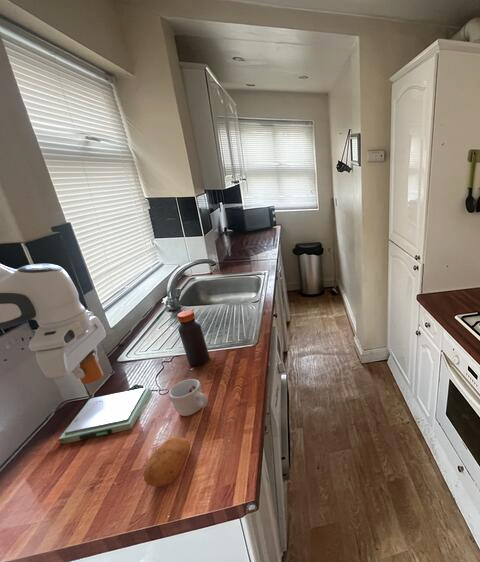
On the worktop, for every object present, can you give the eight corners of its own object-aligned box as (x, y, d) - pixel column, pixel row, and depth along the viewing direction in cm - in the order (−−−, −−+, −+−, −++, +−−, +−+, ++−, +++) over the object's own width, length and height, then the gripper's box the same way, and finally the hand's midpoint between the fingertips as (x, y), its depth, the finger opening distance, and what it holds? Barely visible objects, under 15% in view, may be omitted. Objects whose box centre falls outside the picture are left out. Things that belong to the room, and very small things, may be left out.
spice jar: (77, 385, 81) (65, 363, 79) (87, 374, 86) (76, 353, 83) (98, 381, 83) (88, 359, 80) (107, 370, 87) (97, 349, 84)
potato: (142, 499, 67) (128, 475, 65) (171, 452, 79) (161, 430, 77) (175, 491, 68) (163, 467, 65) (199, 445, 80) (190, 423, 78)
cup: (219, 403, 93) (213, 382, 90) (199, 424, 86) (192, 402, 83) (191, 397, 96) (184, 376, 93) (169, 416, 89) (161, 395, 86)
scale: (60, 446, 80) (56, 439, 79) (92, 404, 94) (88, 397, 93) (130, 430, 84) (127, 423, 83) (151, 392, 98) (148, 385, 97)
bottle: (200, 368, 109) (185, 319, 101) (184, 365, 111) (169, 317, 103) (214, 357, 115) (201, 309, 107) (199, 354, 117) (185, 307, 109)
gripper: (76, 309, 86) (94, 350, 91) (22, 349, 68) (49, 398, 73) (102, 305, 88) (119, 346, 93) (56, 344, 69) (81, 392, 75)
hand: (88, 369), depth 83 cm, fingers closed on spice jar, 4 cm apart
